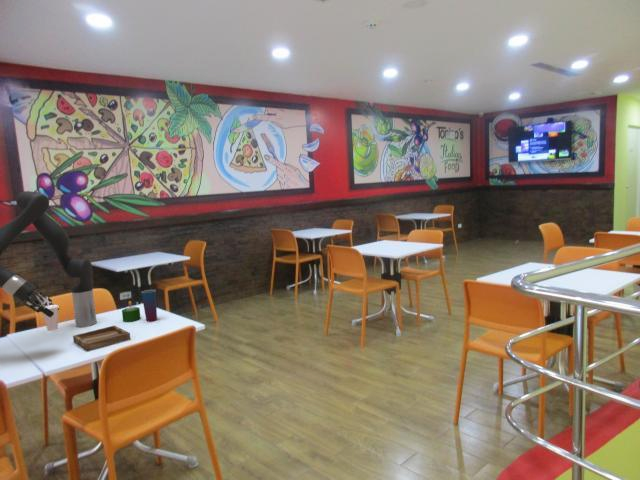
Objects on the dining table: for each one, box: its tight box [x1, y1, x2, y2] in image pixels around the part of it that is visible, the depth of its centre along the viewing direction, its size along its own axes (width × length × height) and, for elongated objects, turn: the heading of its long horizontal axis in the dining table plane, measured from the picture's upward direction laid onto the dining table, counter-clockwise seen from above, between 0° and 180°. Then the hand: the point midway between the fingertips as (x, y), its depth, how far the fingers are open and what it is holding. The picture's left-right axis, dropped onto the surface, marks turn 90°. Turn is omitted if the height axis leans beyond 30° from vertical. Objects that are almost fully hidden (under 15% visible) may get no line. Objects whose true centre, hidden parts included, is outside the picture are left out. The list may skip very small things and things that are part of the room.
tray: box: [72, 325, 132, 352], centre depth 201 cm, size 18×18×3 cm
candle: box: [121, 300, 142, 323], centre depth 232 cm, size 8×8×10 cm
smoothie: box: [42, 295, 60, 332], centre depth 188 cm, size 6×6×14 cm
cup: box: [141, 289, 158, 323], centre depth 228 cm, size 7×7×15 cm
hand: (55, 313), depth 188 cm, fingers closed on smoothie, 6 cm apart
